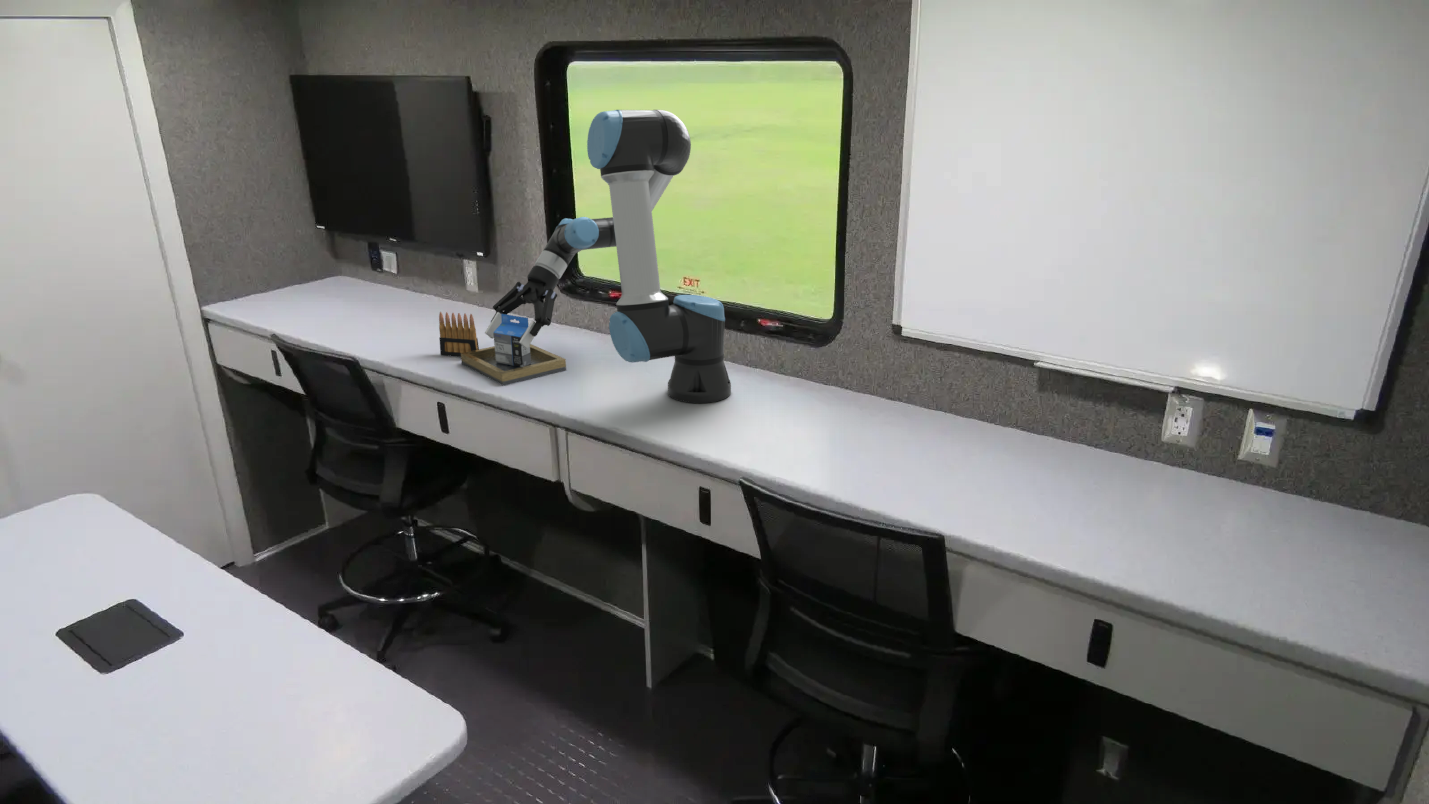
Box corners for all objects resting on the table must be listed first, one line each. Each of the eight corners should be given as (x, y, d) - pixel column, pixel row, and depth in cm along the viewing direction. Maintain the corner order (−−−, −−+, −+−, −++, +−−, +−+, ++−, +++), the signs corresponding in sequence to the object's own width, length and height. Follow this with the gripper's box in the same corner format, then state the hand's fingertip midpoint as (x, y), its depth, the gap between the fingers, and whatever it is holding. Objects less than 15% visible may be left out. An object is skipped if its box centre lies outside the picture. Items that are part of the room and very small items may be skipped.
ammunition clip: (480, 356, 229) (475, 313, 225) (476, 358, 228) (472, 314, 223) (443, 353, 232) (439, 310, 227) (440, 355, 230) (435, 312, 226)
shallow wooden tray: (566, 370, 219) (565, 359, 218) (503, 385, 208) (502, 374, 206) (522, 350, 234) (521, 340, 233) (461, 364, 223) (460, 353, 222)
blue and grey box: (495, 363, 221) (490, 317, 216) (504, 359, 224) (500, 313, 220) (522, 368, 217) (519, 321, 213) (532, 363, 220) (528, 317, 216)
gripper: (588, 287, 218) (547, 357, 213) (524, 274, 233) (484, 339, 227) (571, 270, 213) (529, 341, 207) (507, 258, 227) (465, 324, 221)
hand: (505, 340), depth 217 cm, fingers open, 13 cm apart
